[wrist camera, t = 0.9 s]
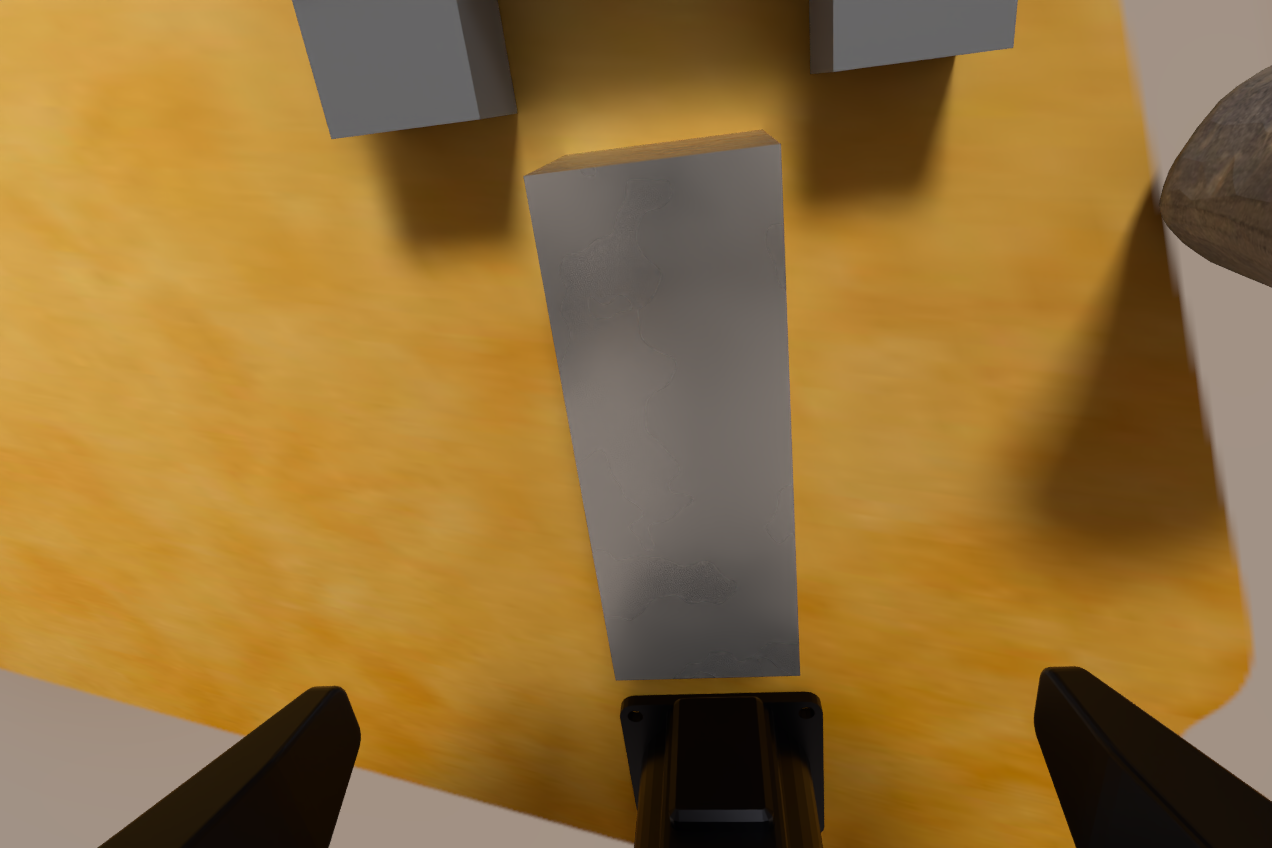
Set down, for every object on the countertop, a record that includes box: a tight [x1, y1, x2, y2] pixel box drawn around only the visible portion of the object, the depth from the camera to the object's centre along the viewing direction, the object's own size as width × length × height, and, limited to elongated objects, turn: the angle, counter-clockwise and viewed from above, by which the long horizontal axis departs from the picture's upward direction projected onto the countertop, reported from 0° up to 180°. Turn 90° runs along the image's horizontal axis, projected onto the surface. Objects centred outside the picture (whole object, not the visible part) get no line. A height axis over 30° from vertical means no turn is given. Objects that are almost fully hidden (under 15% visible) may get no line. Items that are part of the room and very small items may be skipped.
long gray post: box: [524, 130, 800, 680], centre depth 17 cm, size 12×4×4 cm, turn 7°
